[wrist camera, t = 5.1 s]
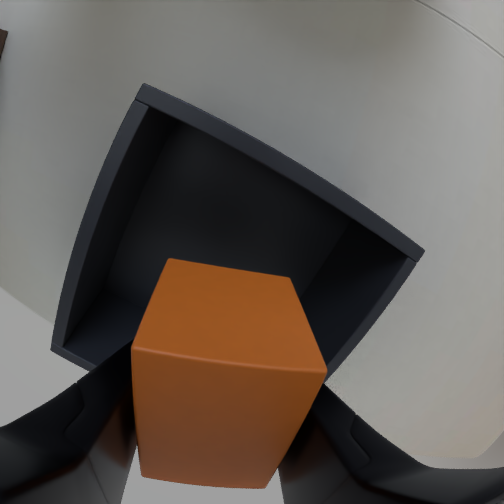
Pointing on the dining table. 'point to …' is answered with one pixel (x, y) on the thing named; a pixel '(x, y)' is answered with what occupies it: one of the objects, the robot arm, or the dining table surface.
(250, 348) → the orange block
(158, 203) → the open box
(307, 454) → the robot arm
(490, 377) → the dining table surface
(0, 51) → the stand
